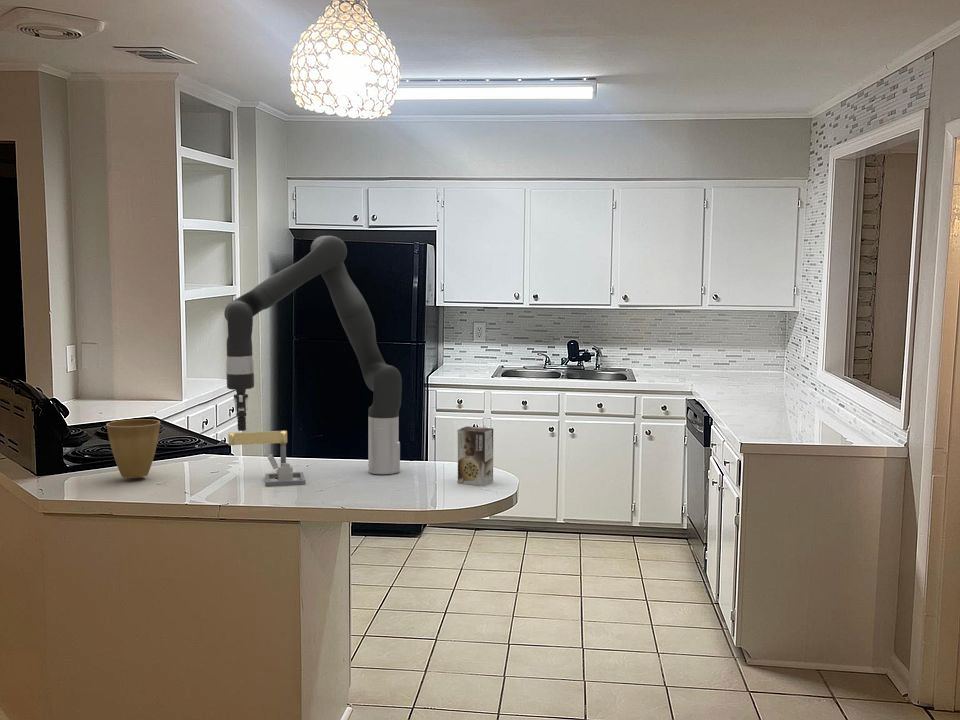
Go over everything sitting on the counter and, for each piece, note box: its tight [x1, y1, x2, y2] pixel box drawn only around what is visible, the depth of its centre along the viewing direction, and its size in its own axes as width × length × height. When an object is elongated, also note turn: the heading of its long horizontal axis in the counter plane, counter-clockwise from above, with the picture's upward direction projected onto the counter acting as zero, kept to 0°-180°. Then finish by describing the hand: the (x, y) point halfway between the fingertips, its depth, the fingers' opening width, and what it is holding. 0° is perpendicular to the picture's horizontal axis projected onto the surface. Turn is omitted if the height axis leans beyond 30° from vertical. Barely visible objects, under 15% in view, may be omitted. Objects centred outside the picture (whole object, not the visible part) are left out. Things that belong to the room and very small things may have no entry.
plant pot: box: [105, 418, 161, 479], centre depth 260 cm, size 15×15×16 cm
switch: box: [264, 443, 306, 487], centre depth 258 cm, size 11×18×9 cm, turn 15°
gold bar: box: [227, 430, 288, 446], centre depth 262 cm, size 2×17×4 cm, turn 106°
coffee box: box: [457, 426, 494, 487], centre depth 255 cm, size 9×6×16 cm
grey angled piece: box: [267, 453, 294, 481], centre depth 255 cm, size 7×2×8 cm, turn 97°
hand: (241, 428), depth 249 cm, fingers open, 8 cm apart
